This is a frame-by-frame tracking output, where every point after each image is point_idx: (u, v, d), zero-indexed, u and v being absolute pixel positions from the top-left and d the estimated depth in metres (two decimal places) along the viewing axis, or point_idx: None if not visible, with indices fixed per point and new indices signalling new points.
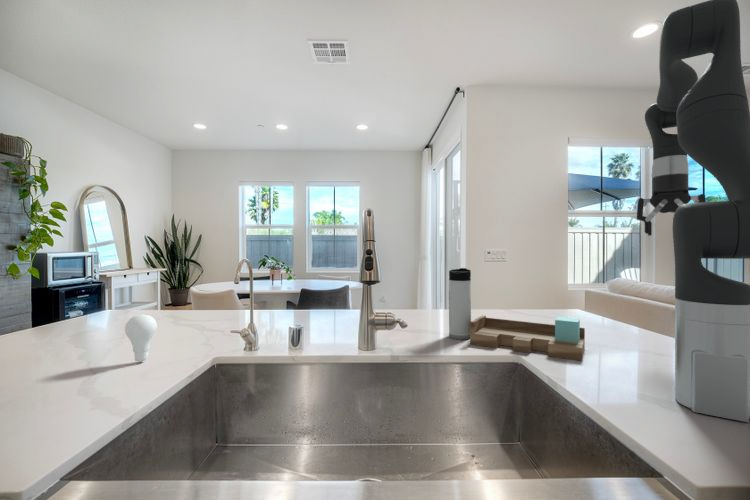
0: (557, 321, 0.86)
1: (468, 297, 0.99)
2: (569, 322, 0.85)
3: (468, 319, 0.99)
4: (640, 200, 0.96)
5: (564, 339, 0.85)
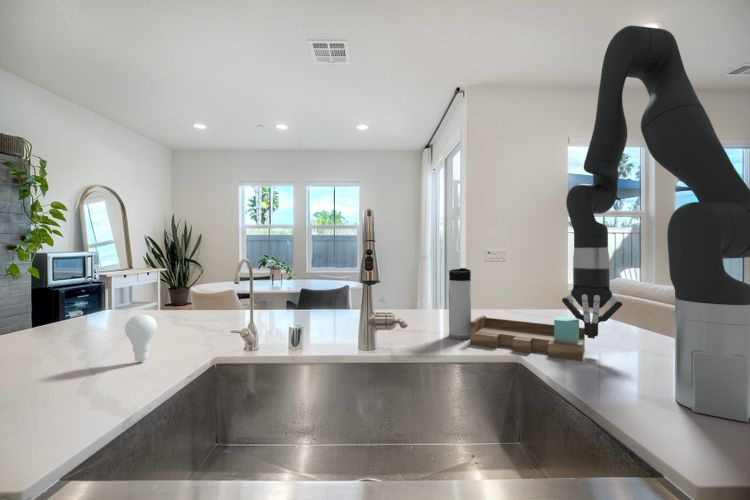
0: (556, 321, 0.86)
1: (468, 297, 0.99)
2: (568, 322, 0.85)
3: (468, 319, 0.99)
4: (564, 301, 0.87)
5: (563, 339, 0.85)
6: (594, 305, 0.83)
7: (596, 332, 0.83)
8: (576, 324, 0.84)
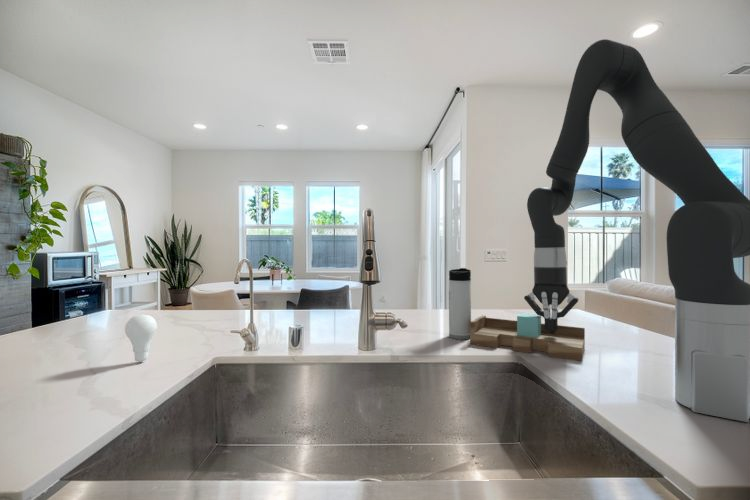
0: (519, 317, 0.91)
1: (468, 297, 0.99)
2: (529, 318, 0.90)
3: (468, 319, 0.99)
4: (526, 298, 0.91)
5: (525, 334, 0.90)
6: (553, 302, 0.88)
7: (555, 327, 0.88)
8: (536, 320, 0.89)
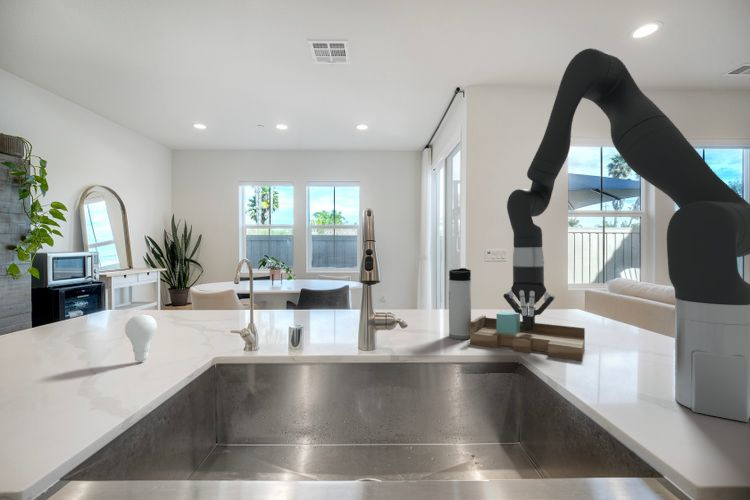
0: (498, 315, 0.94)
1: (468, 297, 0.99)
2: (508, 316, 0.93)
3: (468, 319, 0.99)
4: (505, 296, 0.95)
5: (504, 331, 0.93)
6: (530, 300, 0.91)
7: (532, 324, 0.91)
8: (515, 318, 0.92)
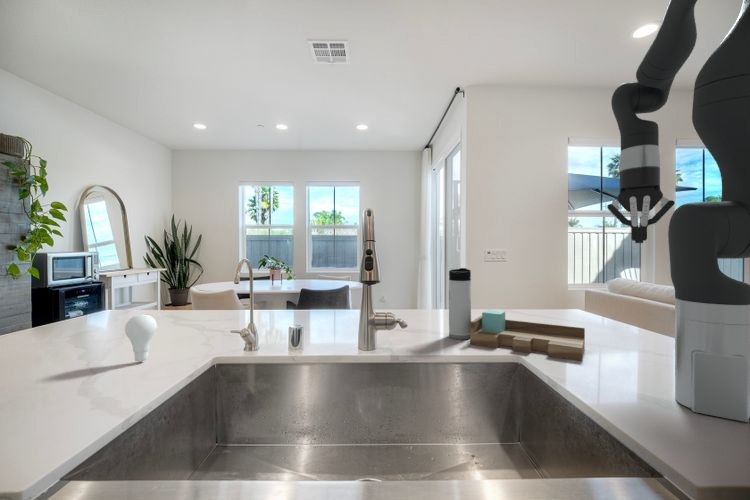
0: (484, 313, 0.97)
1: (468, 297, 0.99)
2: (493, 314, 0.95)
3: (468, 319, 0.99)
4: (610, 207, 0.83)
5: (489, 329, 0.96)
6: (643, 207, 0.79)
7: (645, 236, 0.80)
8: (499, 316, 0.94)
